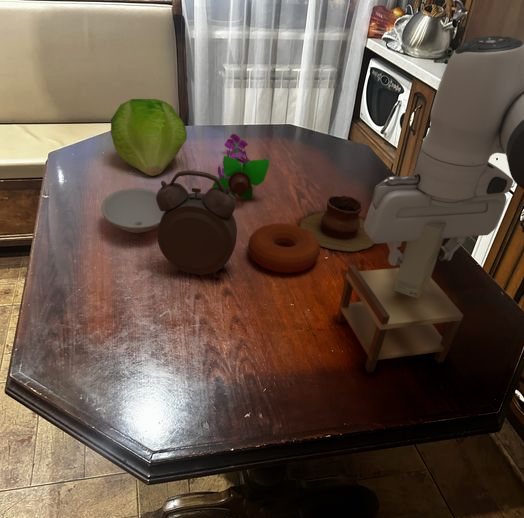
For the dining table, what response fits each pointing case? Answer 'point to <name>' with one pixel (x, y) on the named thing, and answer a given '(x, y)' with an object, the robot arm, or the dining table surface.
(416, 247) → the cosmetic box
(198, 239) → the alarm clock
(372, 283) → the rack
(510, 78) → the robot arm
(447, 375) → the dining table surface
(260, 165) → the potted plant
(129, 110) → the lettuce
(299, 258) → the donut
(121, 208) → the dish
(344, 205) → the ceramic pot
